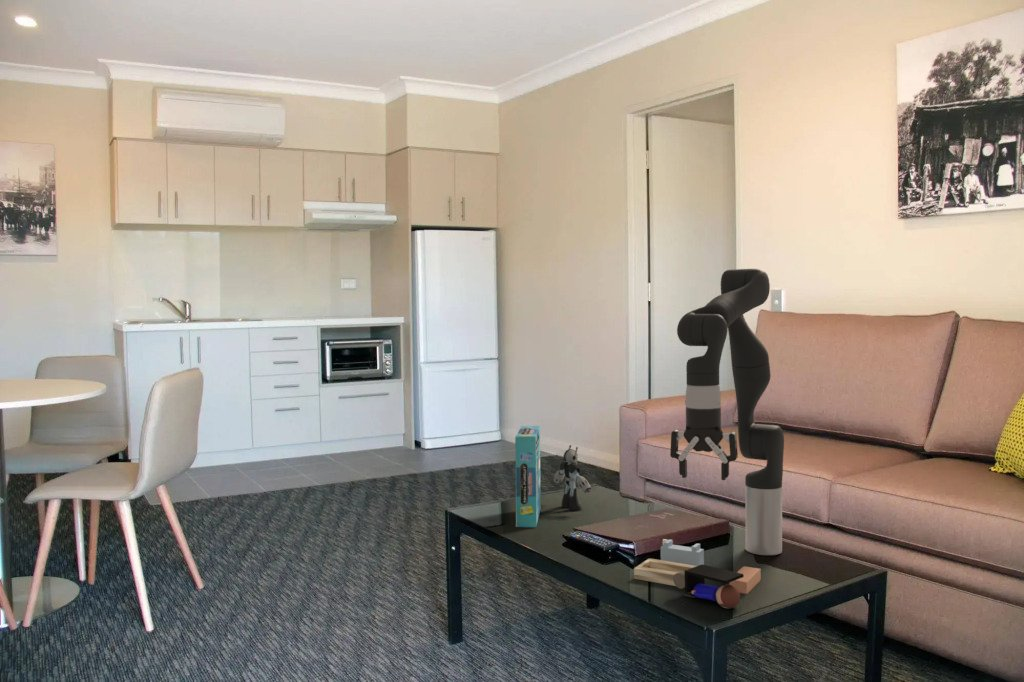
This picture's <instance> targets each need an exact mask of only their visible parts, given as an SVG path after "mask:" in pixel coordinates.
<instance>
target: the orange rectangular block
mask: <svg viewBox="0 0 1024 682" xmlns="http://www.w3.org/2000/svg"><path fill="white" fill-rule="evenodd" d="M761 571H762V569H761V568H758V567H750V566H747V565H746V566H745V565H744V566H742V567H741V568H740V569H738V570H737V572H736V573H741V574H743V575H744V577H742V578H740V579H737V580H734V581H732V582H729V583H728V585H732V586H734V587H735V588H737V590H738V591H739V594H744V595H748V594H749V592H751V590H753V589H754V587H755V586H757V585H758V583H760V582H761V580H762V579H761V577H762V575H761V573H762V572H761Z"/></svg>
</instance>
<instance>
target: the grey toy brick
mask: <svg viewBox="0 0 1024 682" xmlns="http://www.w3.org/2000/svg"><path fill="white" fill-rule="evenodd" d="M660 560H663V561H669V562H675V563H681V564H687V565H693V566H699V565H702V564H703V565H705V549H704V548H701V543H695V544H694V545H691V546H684V545H677V544H674V540H673V539H666V538H663V539H662V545H661V546H660Z"/></svg>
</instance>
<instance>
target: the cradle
mask: <svg viewBox="0 0 1024 682" xmlns="http://www.w3.org/2000/svg"><path fill="white" fill-rule="evenodd" d="M693 567H696V566H693V565H687V564H681V563H675V562H669V561H663V560H661V559H656V558H647V559H646V560H644V561H642V562H641V563H640V564H638V565H637V566H635V567H634V568H633V573H634V574H633V578H634V579H635V580H640V581H645V582H649V583H650V582H651V583H657V584H661V585H668V586H673V587H677V586H676V585H675V584H674V581H673V576H674V575H675V574H676V573H679V572H683V573H685V572H684V571H685V570H688V569H691V568H693Z"/></svg>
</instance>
